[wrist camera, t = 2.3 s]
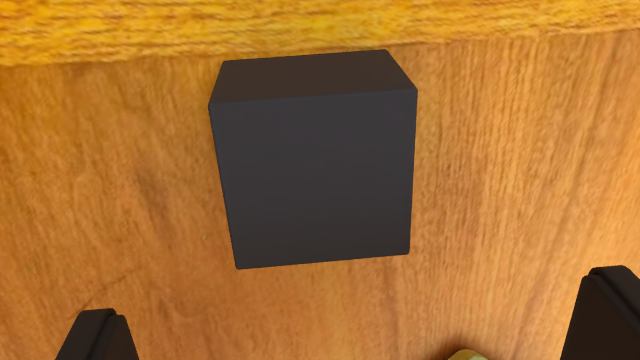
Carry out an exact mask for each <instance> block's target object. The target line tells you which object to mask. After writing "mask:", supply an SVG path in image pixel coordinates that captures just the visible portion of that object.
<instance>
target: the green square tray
mask: <svg viewBox="0 0 640 360" xmlns="http://www.w3.org/2000/svg"><path fill="white" fill-rule="evenodd" d="M447 360H488V359H487V358H485V357H484V356H482V355H480V354H479V353H477V352H475V351H473V350H469V349H463V350H460V351H458V352H456V353H455V354H454V355H452V356H451V357H450V358H449V359H447Z"/></svg>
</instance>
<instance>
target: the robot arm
mask: <svg viewBox="0 0 640 360" xmlns="http://www.w3.org/2000/svg"><path fill="white" fill-rule="evenodd" d="M55 360H139V357H138V354H137V351H136V348H135V345H134V342H133V339H132V336H131V333H130V330H129V327H128V324H127V321H126V318H125V316H124V315H117V313H116V311H115V310H114V309H113V308H107V309H95V310H83V311H82V312H80V313H79V315H78V316H77V318H76V320H75V322H74V324H73V326H72V328H71V330H70V331H69V333H68V335H67V337H66V339H65V341H64V343H63V345H62V347H61V349H60V351H59V353H58V355H57V357H56V359H55ZM560 360H640V279H639V278H638V277H637V276H636V275H635V274H634V273H633V272H632V271H631V270H630V269H628V268H627V267H626V266H623V265H618V266H607V267H596V268H592V269H591V270H590V272H589V274H588V275H586V276H584V277H583V278H582V280H581V284H580V288H579V291H578V295H577V299H576V302H575V306H574V310H573V313H572V317H571V321H570V324H569V328H568V332H567V335H566V339H565V343H564V346H563V350H562V354H561V358H560Z"/></svg>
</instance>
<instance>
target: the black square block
mask: <svg viewBox="0 0 640 360" xmlns="http://www.w3.org/2000/svg"><path fill="white" fill-rule="evenodd" d="M417 93H418V90H417V88H416V87H415V85H414V84H413V83H412V82H411V80H410V79H409V78H408V76H407V75H406V74H405V73H404V71H403V70H402V69H401V68H400V66H399V65H398V64H397V62H396V61H395V60H394V59H393V57H392V56H391V55H390V54H389V52H388V51H387V50H371V51H356V52H342V53H328V54H314V55H300V56H286V57H272V58H258V59H244V60H230V61H224V62H223V63H222V66H221V69H220V72H219V75H218V77H217V80H216V83H215V86H214V89H213V92H212V95H211V98H210V101H209V104H208V110H209V116H210V122H211V128H212V133H213V139H214V145H215V151H216V156H217V162H218V168H219V174H220V180H221V185H222V191H223V197H224V203H225V208H226V214H227V220H228V226H229V232H230V237H231V243H232V249H233V255H234V260H235V266H236V268H237V269H238V270H240V269H251V268H263V267H274V266H285V265H296V264H307V263H318V262H329V261H340V260H351V259H362V258H373V257H384V256H395V255H406V254H409V250H410V230H411V211H412V191H413V172H414V152H415V132H416V113H417Z"/></svg>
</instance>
